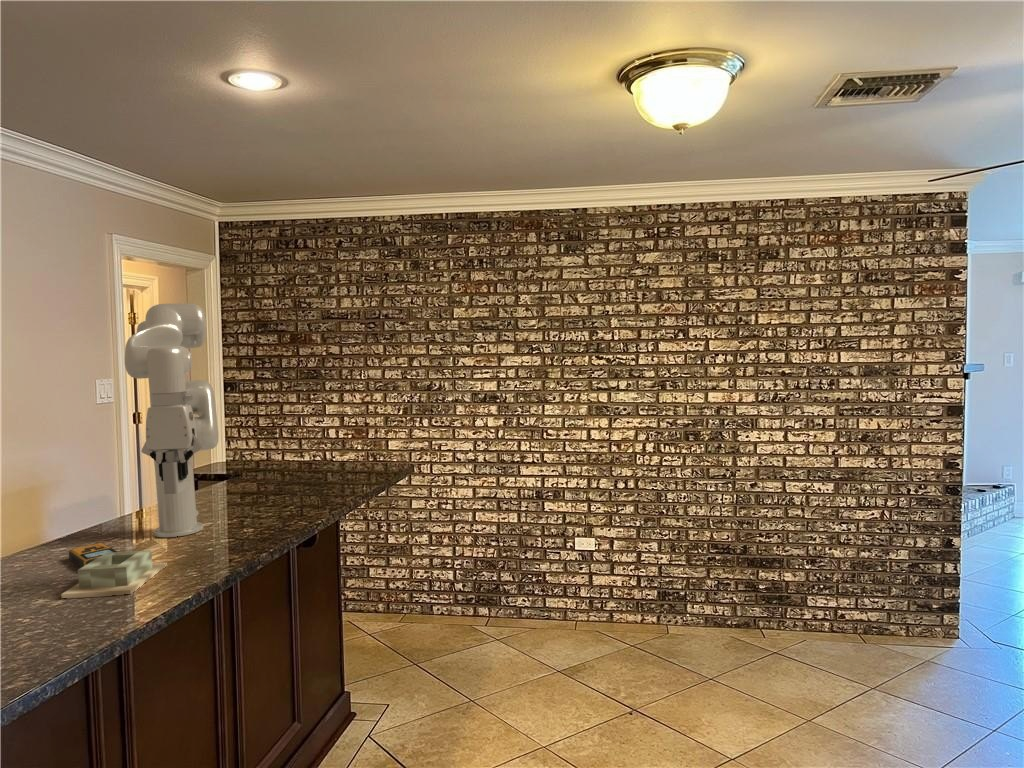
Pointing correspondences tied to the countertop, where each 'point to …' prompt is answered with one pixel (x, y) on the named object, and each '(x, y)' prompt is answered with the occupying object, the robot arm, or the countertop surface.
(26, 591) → the countertop surface
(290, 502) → the countertop surface
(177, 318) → the robot arm
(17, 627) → the countertop surface
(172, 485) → the power adapter
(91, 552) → the electronic device
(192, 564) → the countertop surface
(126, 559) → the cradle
